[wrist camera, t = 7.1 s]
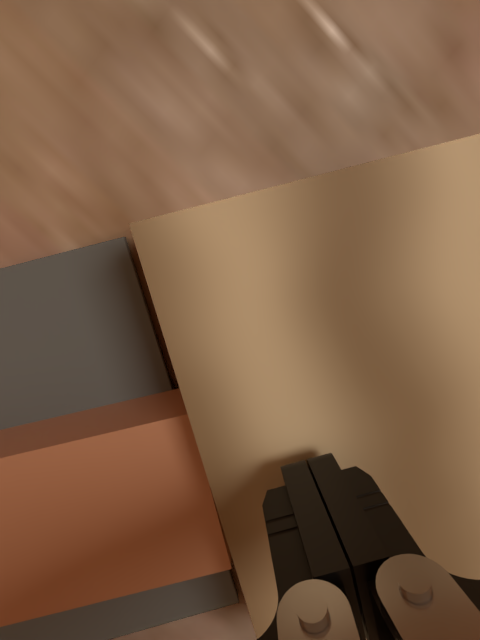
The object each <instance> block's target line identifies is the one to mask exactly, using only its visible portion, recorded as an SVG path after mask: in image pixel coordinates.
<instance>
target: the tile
mask: <svg viewBox="0 0 480 640" xmlns="http://www.w3.org/2000/svg"><path fill="white" fill-rule="evenodd" d="M230 569H232V565H231V553H230V549H229V546H228V543H227V540H226V537H225V533H224V530H223V527H222V524H221V520H220V517H219V514H218V511H217V507H216V504H215V501H214V498H213V495H212V491H211V488H210V485H209V482H208V478H207V475H206V472H205V469H204V465H203V462H202V459H201V456H200V453H199V449H198V446H197V443H196V440H195V436H194V433H193V430H192V427H191V423H190V420H189V417H188V414H187V411H186V407H185V404H184V401H183V398H182V394H181V391H180V388H178V389H174V390H170V391H165V392H161V393H157V394H153V395H148V396H144V397H140V398H135V399H131V400H127V401H123V402H118V403H114V404H110V405H105V406H101V407H97V408H92V409H88V410H84V411H80V412H75V413H71V414H67V415H62V416H58V417H54V418H50V419H45V420H41V421H37V422H32V423H28V424H24V425H19V426H15V427H11V428H7V429H2V430H0V627H2V626H6V625H10V624H14V623H18V622H22V621H26V620H30V619H34V618H38V617H42V616H46V615H50V614H54V613H58V612H62V611H66V610H70V609H74V608H78V607H82V606H86V605H90V604H94V603H98V602H102V601H106V600H110V599H114V598H118V597H122V596H126V595H130V594H134V593H138V592H142V591H146V590H150V589H154V588H158V587H162V586H166V585H170V584H174V583H178V582H182V581H186V580H190V579H194V578H198V577H202V576H206V575H210V574H214V573H218V572H222V571H226V570H230Z"/></svg>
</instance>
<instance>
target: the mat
mask: <svg viewBox="0 0 480 640" xmlns="http://www.w3.org/2000/svg"><path fill="white" fill-rule="evenodd" d="M170 390H173V387H172V383H171V380H170V377H169V374H168V371H167V367H166V364H165V361H164V358H163V355H162V351H161V348H160V345H159V342H158V339H157V336H156V332H155V329H154V326H153V323H152V320H151V316H150V313H149V310H148V307H147V304H146V300H145V297H144V294H143V291H142V288H141V285H140V281H139V278H138V275H137V272H136V269H135V265H134V262H133V259H132V256H131V253H130V249H129V246H128V243H127V240H126V237H122V238H118V239H114V240H110V241H106V242H102V243H98V244H94V245H91V246H87V247H83V248H79V249H75V250H71V251H67V252H63V253H59V254H56V255H52V256H48V257H44V258H40V259H36V260H32V261H28V262H24V263H21V264H17V265H13V266H9V267H5V268H1V269H0V430H2V429H7V428H11V427H15V426H19V425H24V424H28V423H32V422H37V421H41V420H45V419H50V418H54V417H58V416H62V415H67V414H71V413H75V412H80V411H84V410H88V409H92V408H97V407H101V406H105V405H110V404H114V403H118V402H123V401H127V400H131V399H135V398H140V397H144V396H148V395H153V394H157V393H161V392H165V391H170ZM236 603H239V599H238V594H237V591H236V587H235V584H234V581H233V578H232V575H231V571H230V570H226V571H222V572H218V573H214V574H210V575H206V576H202V577H198V578H194V579H190V580H186V581H182V582H178V583H174V584H170V585H166V586H162V587H158V588H154V589H150V590H146V591H142V592H138V593H134V594H130V595H126V596H122V597H118V598H114V599H110V600H106V601H102V602H98V603H94V604H90V605H86V606H82V607H78V608H74V609H70V610H66V611H62V612H58V613H54V614H50V615H46V616H42V617H38V618H34V619H30V620H26V621H22V622H18V623H14V624H10V625H6V626H2V627H0V640H109V639H113V638H116V637H120V636H123V635H127V634H130V633H134V632H137V631H141V630H144V629H148V628H151V627H155V626H158V625H162V624H165V623H169V622H172V621H176V620H179V619H183V618H186V617H190V616H193V615H197V614H200V613H204V612H207V611H211V610H215V609H218V608H222V607H225V606H229V605H232V604H236Z"/></svg>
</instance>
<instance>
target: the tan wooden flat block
mask: <svg viewBox="0 0 480 640" xmlns="http://www.w3.org/2000/svg"><path fill="white" fill-rule="evenodd" d="M129 226H130V230H131V233H132V236H133V239H134V243H135V246H136V249H137V252H138V255H139V259H140V262H141V265H142V268H143V272H144V275H145V278H146V281H147V285H148V288H149V291H150V294H151V297H152V301H153V304H154V307H155V310H156V314H157V317H158V320H159V323H160V327H161V330H162V333H163V336H164V339H165V343H166V346H167V349H168V352H169V356H170V359H171V362H172V365H173V369H174V372H175V375H176V378H177V381H178V385H179V388H180V391H181V394H182V398H183V401H184V404H185V407H186V411H187V414H188V417H189V420H190V423H191V427H192V430H193V433H194V436H195V440H196V443H197V446H198V449H199V453H200V456H201V459H202V462H203V465H204V469H205V472H206V475H207V478H208V482H209V485H210V488H211V491H212V495H213V498H214V501H215V504H216V507H217V511H218V514H219V517H220V520H221V524H222V527H223V530H224V533H225V537H226V540H227V543H228V546H229V549H230V553H231V556H232V559H233V562H234V566H235V569H236V572H237V575H238V579H239V582H240V585H241V588H242V591H243V595H244V598H245V601H246V604H247V608H248V611H249V614H250V617H251V621H252V624H253V627H254V630H255V633H256V637H257V639H258V638H259V637H261V636H262V635H263V633H264V632H265V631H266V630H267V629H268V627H269V626H270V624H271V623H272V621H273V619H274V616H275V614H276V611H277V606H278V591H277V585H276V580H275V574H274V568H273V563H272V557H271V552H270V546H269V541H268V535H267V530H266V523H265V518H264V513H263V507H262V504H263V501H264V498H265V495H266V492H267V490H270V489H274V488H277V487H281V486H285V483H284V479H283V475H282V472H281V468H280V466H284V465H288V464H291V463H295V462H299V461H302V460H305V461H306V464H307V459H309V458H313V457H317V456H320V455H324V454H328V453H332V454H333V456H334V458H335V459H336V461H337V463H338V465H339V467H340V468H341V470H343V469H347V468H350V467H354V466H357V467H358V468H360V469H361V470H363V471H364V472H366V473H368V474H369V475H371V476H372V478H373V479H374V481H375V482H376V484H377V485H378V487H379V488H380V490H381V493H383V494H384V496H385V497H386V499H387V500H388V502H389V505H391V506H392V508H393V509H394V511H395V512H396V514H397V515H398V517H399V518H400V520H401V521H402V523H403V524H404V526H405V527H406V529H407V530H408V532H409V533H410V535H411V536H412V538H413V539H414V541H415V542H416V543H417V545H418V546H419V548H420V549H421V551H422V552H423V554H424V555H425V556H426V557H427V558H429V559H431V560H433V561H435V562H436V563H438V564H439V565H441V566H442V567H443V568H444V569H445V570H446V571H447V572H448V573H450V574H453V575H456V576H459V577H463V578H467V579H475V580H480V134H477V135H473V136H469V137H465V138H461V139H457V140H453V141H450V142H446V143H442V144H438V145H434V146H430V147H426V148H422V149H418V150H414V151H411V152H407V153H403V154H399V155H395V156H391V157H387V158H383V159H379V160H375V161H372V162H368V163H364V164H360V165H356V166H352V167H348V168H344V169H340V170H336V171H333V172H329V173H325V174H321V175H317V176H313V177H309V178H305V179H301V180H297V181H294V182H290V183H286V184H282V185H278V186H274V187H270V188H266V189H262V190H258V191H255V192H251V193H247V194H243V195H239V196H235V197H231V198H227V199H223V200H219V201H216V202H212V203H208V204H204V205H200V206H196V207H192V208H188V209H184V210H180V211H177V212H173V213H169V214H165V215H161V216H157V217H153V218H149V219H145V220H141V221H138V222H134V223H130V224H129ZM366 640H367V639H366Z"/></svg>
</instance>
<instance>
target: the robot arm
mask: <svg viewBox="0 0 480 640" xmlns="http://www.w3.org/2000/svg"><path fill="white" fill-rule="evenodd" d="M280 468H281V472H282V475H283V479H284V483H285V486H281V487H277V488H274V489H270V490H267V492H266V495H265V498H264V501H263V504H262V507H263V513H264V518H265V523H266V530H267V535H268V541H269V546H270V552H271V557H272V563H273V568H274V574H275V580H276V585H277V591H278V606H277V611H276V614H275V616H274V619H273V621H272V623H271V624H270V626H269V627H268V629H267V630H266V631H265V632H264V633H263V635H262V636H261V637H259V638H258V639H257V640H366V639H367V640H480V580H475V579H467V578H463V577H459V576H456V575H453V574H450V573H448V572H447V571H446V570H445V569H444V568H443V567H442V566H441V565H439V564H438V563H436V562H435V561H433V560H431V559H429V558H427V557H426V556H425V555H424V554H423V552H422V551H421V549H420V548H419V546H418V545H417V543H416V542H415V541H414V539H413V538H412V536H411V535H410V533H409V532H408V530H407V529H406V527H405V526H404V524H403V523H402V521H401V520H400V518H399V517H398V515H397V514H396V512H395V511H394V509H393V508H392V506H391V505H389V502H388V500H387V499H386V497H385V496H384V494H383V493H381V490H380V488H379V487H378V485H377V484H376V482H375V481H374V479H373V478H372V476H371V475H369V474H368V473H366V472H364V471H363V470H361V469H360V468H358V467H357V466H354V467H350V468H347V469H343V470H341V468H340V467H339V465H338V463H337V461H336V459H335V458H334V456H333V454H332V453H328V454H324V455H320V456H317V457H313V458H309V459H307V464H306V461H305V460H302V461H299V462H295V463H291V464H288V465H284V466H280Z"/></svg>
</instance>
